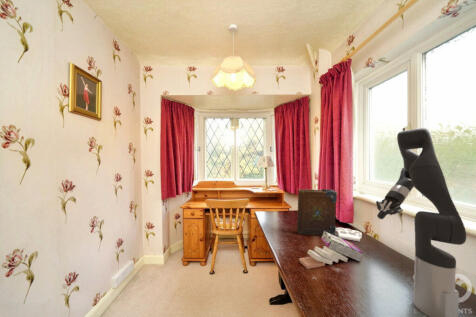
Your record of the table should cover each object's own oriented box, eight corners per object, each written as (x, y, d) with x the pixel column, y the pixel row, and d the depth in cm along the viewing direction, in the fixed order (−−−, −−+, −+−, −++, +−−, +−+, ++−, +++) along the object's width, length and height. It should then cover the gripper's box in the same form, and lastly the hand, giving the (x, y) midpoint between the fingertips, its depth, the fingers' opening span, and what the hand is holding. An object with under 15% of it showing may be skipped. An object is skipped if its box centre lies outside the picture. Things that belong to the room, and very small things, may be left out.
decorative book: (330, 232, 122) (331, 189, 122) (335, 237, 115) (337, 191, 115) (296, 230, 124) (297, 188, 123) (298, 235, 116) (300, 189, 116)
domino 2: (333, 260, 84) (317, 255, 82) (331, 264, 84) (315, 260, 81) (323, 254, 90) (308, 249, 87) (322, 257, 90) (307, 253, 87)
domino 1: (325, 262, 83) (307, 265, 81) (324, 266, 83) (307, 270, 81) (316, 255, 89) (299, 258, 86) (315, 259, 89) (299, 262, 86)
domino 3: (348, 258, 87) (333, 251, 85) (346, 262, 87) (331, 255, 84) (338, 252, 93) (324, 245, 90) (336, 255, 92) (322, 249, 90)
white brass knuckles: (333, 238, 114) (329, 230, 128) (366, 243, 108) (358, 234, 122) (333, 233, 114) (329, 225, 128) (366, 238, 108) (358, 229, 122)
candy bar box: (349, 251, 98) (320, 238, 100) (353, 243, 97) (324, 230, 100) (360, 263, 87) (327, 248, 89) (364, 253, 86) (331, 239, 89)
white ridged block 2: (339, 258, 86) (324, 252, 83) (337, 262, 85) (322, 256, 83) (329, 252, 91) (315, 246, 89) (327, 256, 91) (313, 249, 88)
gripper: (381, 187, 103) (364, 209, 100) (408, 192, 91) (389, 217, 88) (387, 196, 105) (371, 218, 102) (415, 202, 92) (396, 227, 89)
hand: (379, 217), depth 95 cm, fingers closed
